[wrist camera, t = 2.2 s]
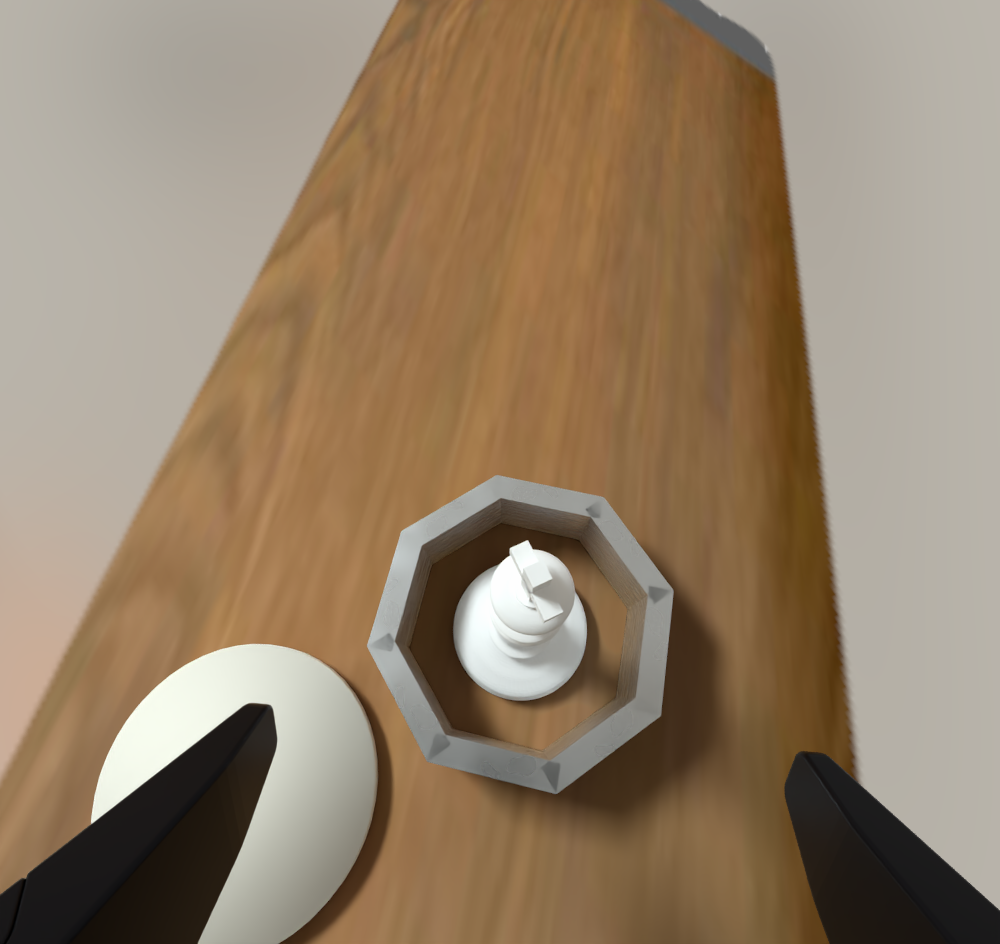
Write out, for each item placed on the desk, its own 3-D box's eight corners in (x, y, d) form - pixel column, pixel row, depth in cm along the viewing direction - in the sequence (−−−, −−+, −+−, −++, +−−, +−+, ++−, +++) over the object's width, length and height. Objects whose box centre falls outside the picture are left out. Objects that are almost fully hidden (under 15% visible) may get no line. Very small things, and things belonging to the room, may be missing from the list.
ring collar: (627, 799, 18) (650, 818, 15) (362, 732, 19) (339, 739, 16) (658, 536, 22) (681, 513, 19) (432, 488, 22) (422, 459, 20)
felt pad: (326, 991, 16) (320, 1002, 16) (50, 911, 17) (36, 918, 16) (409, 676, 20) (407, 676, 19) (176, 620, 20) (167, 618, 20)
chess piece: (549, 542, 22) (587, 428, 12) (610, 662, 20) (708, 635, 11) (433, 595, 21) (380, 516, 11) (486, 725, 19) (475, 755, 10)
